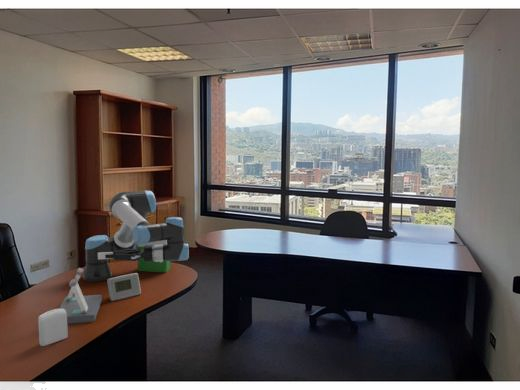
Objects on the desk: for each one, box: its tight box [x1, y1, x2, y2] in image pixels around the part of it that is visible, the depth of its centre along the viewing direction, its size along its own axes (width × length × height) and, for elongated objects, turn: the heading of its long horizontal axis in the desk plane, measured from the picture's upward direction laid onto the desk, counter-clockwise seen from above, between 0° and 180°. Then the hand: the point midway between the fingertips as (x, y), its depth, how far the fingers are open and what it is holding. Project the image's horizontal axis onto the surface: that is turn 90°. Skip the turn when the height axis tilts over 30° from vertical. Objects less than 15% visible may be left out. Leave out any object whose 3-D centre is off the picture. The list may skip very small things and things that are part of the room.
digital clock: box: [106, 272, 142, 302], centre depth 206 cm, size 16×9×11 cm, turn 121°
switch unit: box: [58, 294, 103, 324], centre depth 187 cm, size 16×24×3 cm, turn 14°
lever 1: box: [66, 267, 85, 302], centre depth 193 cm, size 2×5×15 cm, turn 15°
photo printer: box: [37, 308, 69, 347], centre depth 159 cm, size 10×4×12 cm, turn 140°
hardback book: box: [136, 240, 171, 273], centre depth 249 cm, size 18×7×24 cm, turn 84°
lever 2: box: [68, 278, 88, 314], centre depth 178 cm, size 2×5×15 cm, turn 13°
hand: (98, 256), depth 180 cm, fingers closed
